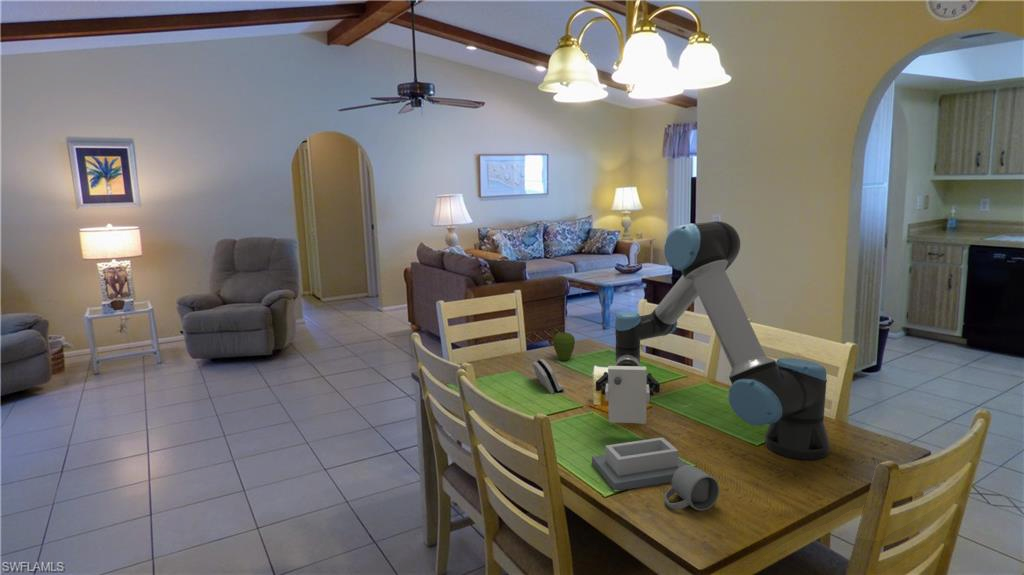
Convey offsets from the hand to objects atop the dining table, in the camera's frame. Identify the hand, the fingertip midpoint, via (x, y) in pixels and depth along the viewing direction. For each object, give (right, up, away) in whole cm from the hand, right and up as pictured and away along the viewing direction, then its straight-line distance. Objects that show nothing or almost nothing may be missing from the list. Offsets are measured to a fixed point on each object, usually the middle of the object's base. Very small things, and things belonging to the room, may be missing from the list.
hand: (627, 396), depth 158 cm
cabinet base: (+1, -16, -12) cm, 20 cm away
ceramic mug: (+8, -19, -27) cm, 34 cm away
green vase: (-10, 0, +78) cm, 79 cm away
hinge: (-18, -5, +50) cm, 53 cm away
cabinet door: (+1, -7, +6) cm, 9 cm away
